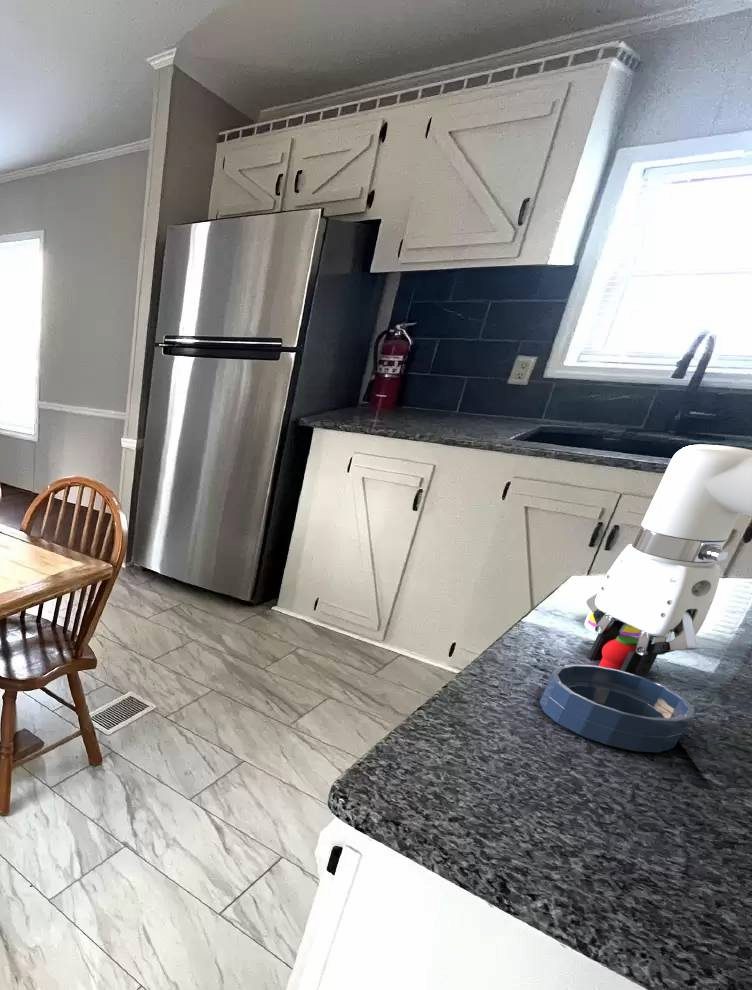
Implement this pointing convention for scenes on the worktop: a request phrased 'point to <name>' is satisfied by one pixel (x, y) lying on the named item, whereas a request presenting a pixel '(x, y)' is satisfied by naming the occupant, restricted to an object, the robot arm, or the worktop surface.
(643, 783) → the worktop surface
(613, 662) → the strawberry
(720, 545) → the robot arm
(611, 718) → the bowl
